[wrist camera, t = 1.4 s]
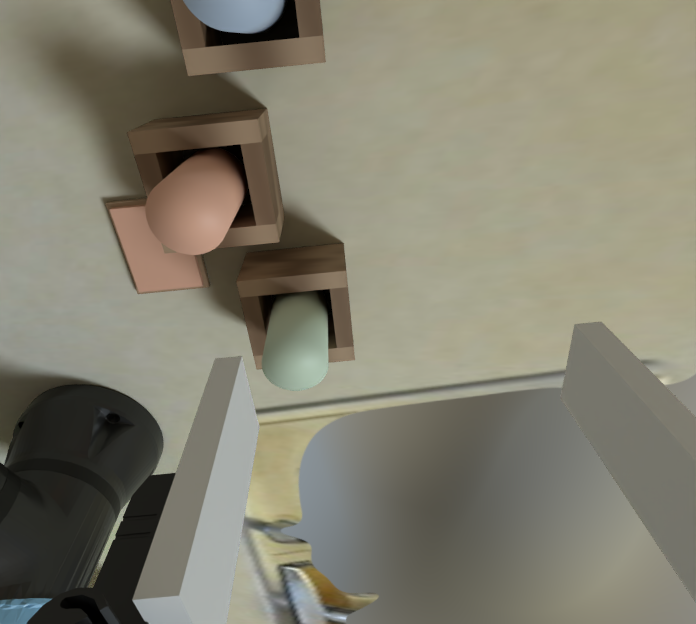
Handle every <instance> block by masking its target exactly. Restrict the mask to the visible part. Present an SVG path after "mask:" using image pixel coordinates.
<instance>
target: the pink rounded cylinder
mask: <svg viewBox="0 0 696 624" xmlns="http://www.w3.org/2000/svg"><path fill="white" fill-rule="evenodd" d="M247 190H248V180H247V175H246V170H245V168H244V166H243V164H242V163H241V162H240V161H239V159H238V158H237V157H235V156H234V155H233V154H232V153H230V152H228V151H226V150H224V149H220V148H215V147H208V148H204V149H200V150H198V151H197V152H195V153H194V154H193V155H191V156H190V157H189V158H188V159H187V160H186V161H184V162H183V163H182V164H181V165H180V166H179V167H177V168H176V169H175V170H174V171H173V172H172V173H170V174H169V175H168V176H167V177H166V178H165V179H163V180H162V181H161V182H160V183H159V184H158V185H156V186H155V187H154V188H153V190H152V191H151V192H150V194H149V196H148V198H147V201H146V208H145V213H146V219H147V222H148V225H149V227H150V229H151V231H152V233H153V234H154V235H155V237H156V238H157V239H158V240H159V241H160V242H161V243H162V244H164V245H165V246H166V247H168V248H170V249H171V250H173V251H176V252H178V253H182V254H187V255H199V254H204V253H207V252H209V251H211V250H213V249H215V248H216V247H217V246H218V245H219V244H220V243H221V242H222V241H223V239H224V237H225V235H226V233H227V231H228V229H229V228H230V226H231V224H232V222H233V220H234V218H235V216H236V214H237V212H238V210H239V208H240V206H241V204H242V202H243V200H244V198H245V196H246V194H247Z"/></svg>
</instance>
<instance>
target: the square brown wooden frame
mask: <svg viewBox="0 0 696 624" xmlns="http://www.w3.org/2000/svg"><path fill="white" fill-rule="evenodd" d="M236 283H237V287H238V292H239V296H240V300H241V304H242V309H243V313H244V317H245V322H246V326H247V330H248V334H249V339H250V343H251V347H252V352H253V356H254V360H255V364H256V369H262V356H263V351H264V346H265V341H266V336H267V331H268V326H269V320H270V315H271V310H272V305H273V301H272V296H271V295H272V294H282V293H293V292H303V291H313V290H323V289H330V295H331V303H332V312H333V314H332V315H328V363H329V362H340V361H350V360H355V356H354V345H353V335H352V325H351V315H350V304H349V294H348V284H347V274H346V263H345V253H344V243H340V244H329V245H319V246H309V247H299V248H289V249H279V250H268V251H258V252H248V253H246V256H245V259H244V262H243V264H242V267H241V270H240V272H239V275H238V278H237V281H236Z"/></svg>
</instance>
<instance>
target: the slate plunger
mask: <svg viewBox="0 0 696 624" xmlns="http://www.w3.org/2000/svg"><path fill="white" fill-rule="evenodd" d="M183 1H184V3H185V4H186V6H187V7H188V9H189V10H190V11H191V12H192V13H193V14H194V15H195V16H196V17H197V18H198V19H199V20H200V21H202V22H203V23H204V24H206V25H208V26H210V27H212V28H214V29H217V30H220V31H226V32H235V33H245V34H260V33H264V32H267V31H268V30H270V29H272V28H273V27H274V26H275V25H276V24H277V23H278V22H279V21H280V19H281V18H282V16H283V14H284V12H285V9H286V6H287V1H288V0H183Z"/></svg>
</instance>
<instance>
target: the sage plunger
mask: <svg viewBox="0 0 696 624" xmlns="http://www.w3.org/2000/svg"><path fill="white" fill-rule="evenodd" d="M262 370H263V372H264V374H265V376H266V377H267V379H268V380H269V381H270V382H271V383H273V384H274V385H276V386H278V387H280V388H282V389H286V390H292V391H300V390H305V389H309V388H312V387H313V386H315V385H317V384H318V383H319V382H321V381H322V380H323V378H324V377H325V375H326V373H327V370H328V304H327V299H326V297H325V295H324V293H323V292H322V291H321V290H313V291H303V292H293V293H282V294H276V295H275V297H274V300H273V305H272V310H271V315H270V320H269V326H268V331H267V336H266V341H265V346H264V351H263V356H262Z"/></svg>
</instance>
